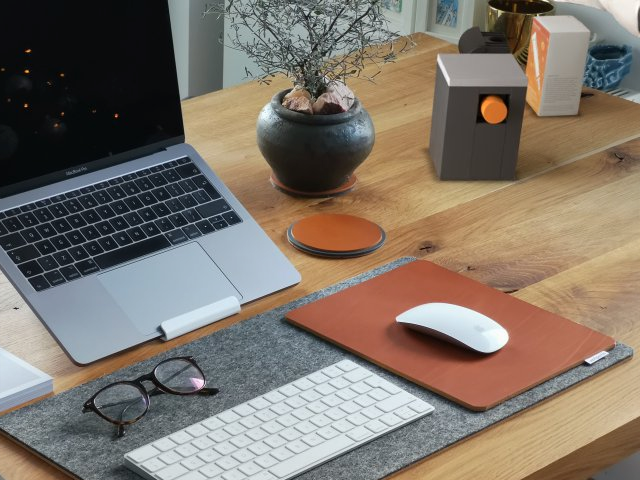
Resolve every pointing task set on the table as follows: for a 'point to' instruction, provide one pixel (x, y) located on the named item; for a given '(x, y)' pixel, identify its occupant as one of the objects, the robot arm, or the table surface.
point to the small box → (556, 64)
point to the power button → (493, 109)
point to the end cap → (482, 42)
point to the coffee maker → (476, 117)
